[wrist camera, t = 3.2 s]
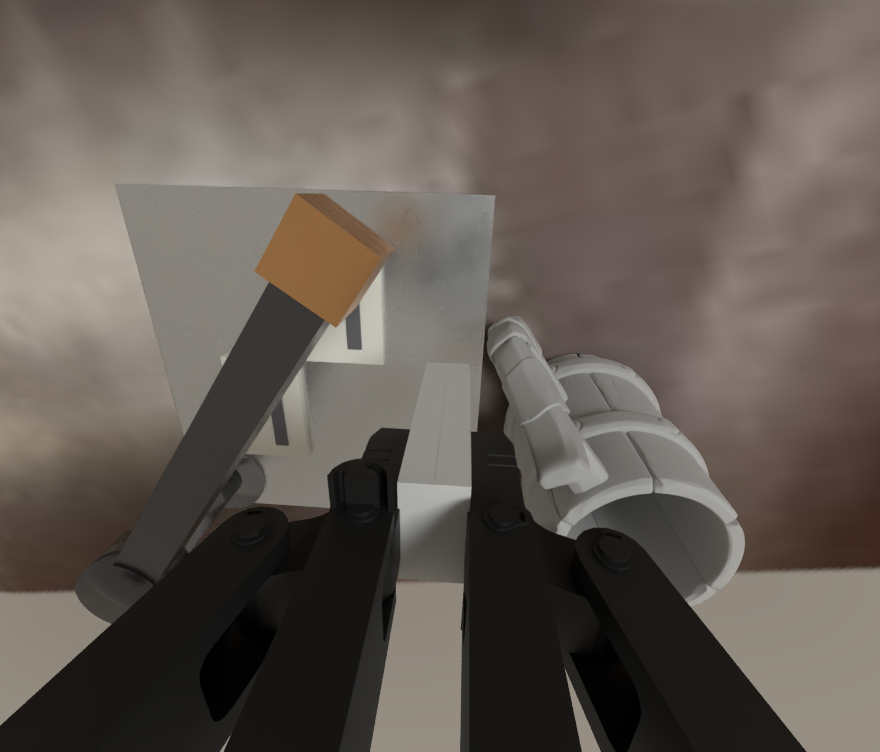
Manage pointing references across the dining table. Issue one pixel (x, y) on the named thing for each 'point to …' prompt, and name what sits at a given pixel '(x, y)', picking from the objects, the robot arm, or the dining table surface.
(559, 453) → the mug
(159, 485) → the grey lever orange grip
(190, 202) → the plate
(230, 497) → the grey metal knob
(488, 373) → the dining table surface
